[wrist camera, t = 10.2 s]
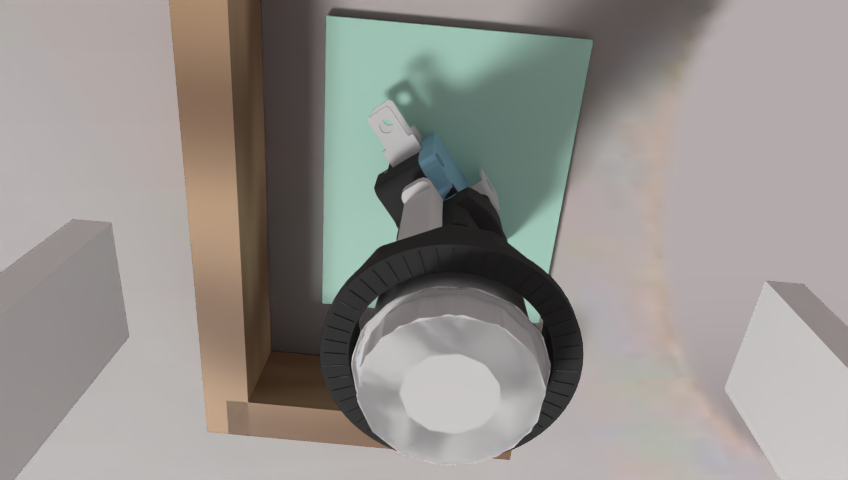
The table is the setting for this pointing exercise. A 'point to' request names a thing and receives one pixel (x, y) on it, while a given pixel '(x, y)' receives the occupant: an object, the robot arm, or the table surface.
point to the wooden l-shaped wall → (239, 235)
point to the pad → (448, 127)
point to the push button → (447, 318)
